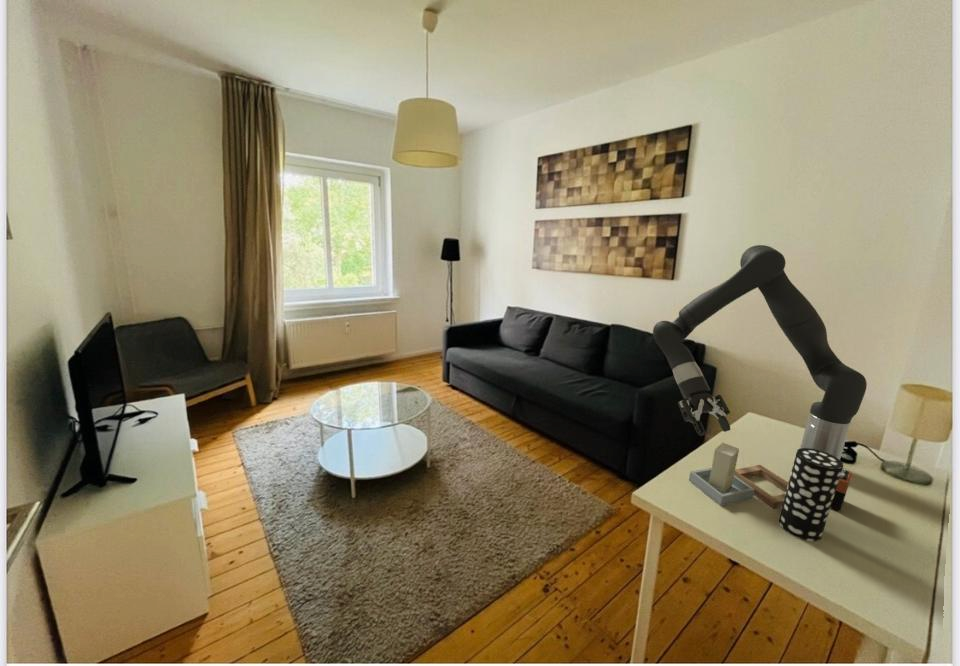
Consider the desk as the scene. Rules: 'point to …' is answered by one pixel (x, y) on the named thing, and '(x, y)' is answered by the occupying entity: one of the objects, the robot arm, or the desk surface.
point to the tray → (733, 495)
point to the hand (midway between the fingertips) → (715, 432)
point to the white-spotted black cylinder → (810, 493)
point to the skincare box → (723, 467)
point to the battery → (841, 490)
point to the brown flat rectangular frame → (760, 493)
